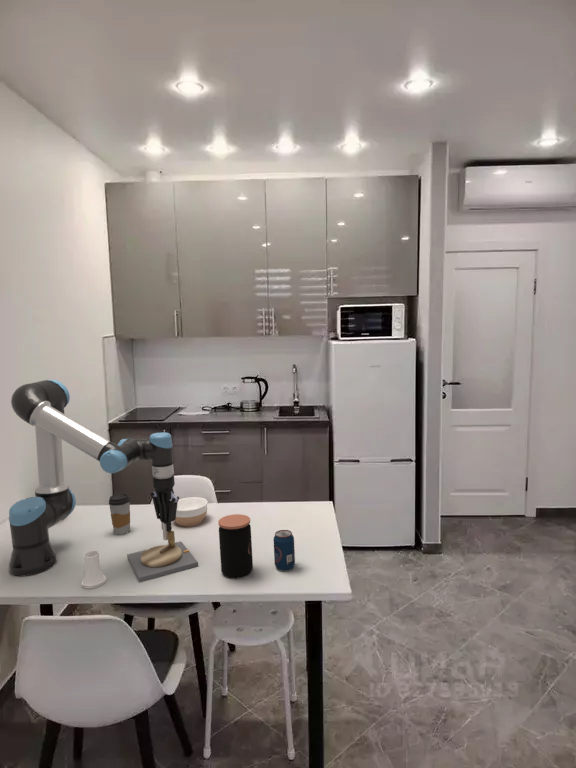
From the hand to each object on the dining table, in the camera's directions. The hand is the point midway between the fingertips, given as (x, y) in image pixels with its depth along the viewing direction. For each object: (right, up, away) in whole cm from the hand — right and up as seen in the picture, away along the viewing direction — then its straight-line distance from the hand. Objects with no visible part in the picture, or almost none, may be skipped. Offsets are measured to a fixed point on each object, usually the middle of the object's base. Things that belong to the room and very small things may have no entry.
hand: (167, 538), depth 186 cm
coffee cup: (-24, -4, +23) cm, 33 cm away
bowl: (+2, -2, +31) cm, 31 cm away
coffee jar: (+27, -7, -15) cm, 31 cm away
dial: (-1, -5, -6) cm, 8 cm away
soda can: (+43, -6, -13) cm, 45 cm away
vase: (-20, -9, -18) cm, 28 cm away
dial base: (-1, -7, -6) cm, 9 cm away
